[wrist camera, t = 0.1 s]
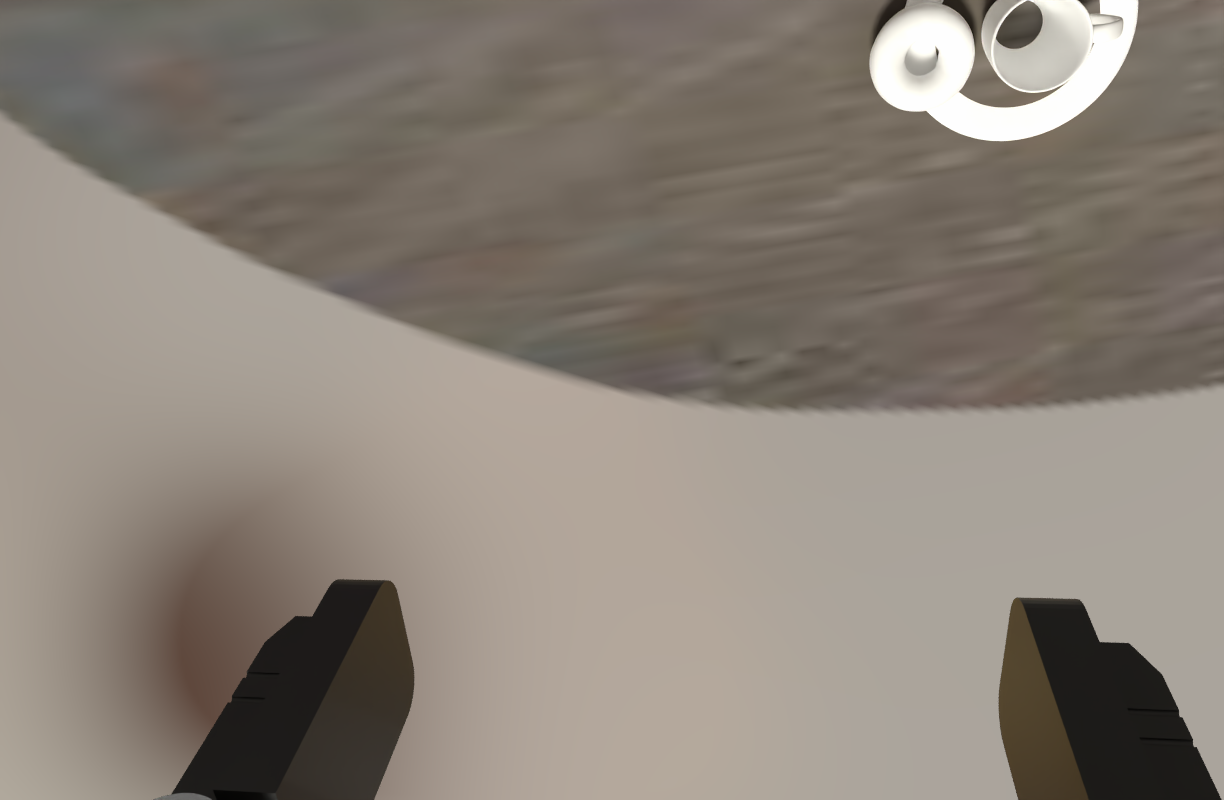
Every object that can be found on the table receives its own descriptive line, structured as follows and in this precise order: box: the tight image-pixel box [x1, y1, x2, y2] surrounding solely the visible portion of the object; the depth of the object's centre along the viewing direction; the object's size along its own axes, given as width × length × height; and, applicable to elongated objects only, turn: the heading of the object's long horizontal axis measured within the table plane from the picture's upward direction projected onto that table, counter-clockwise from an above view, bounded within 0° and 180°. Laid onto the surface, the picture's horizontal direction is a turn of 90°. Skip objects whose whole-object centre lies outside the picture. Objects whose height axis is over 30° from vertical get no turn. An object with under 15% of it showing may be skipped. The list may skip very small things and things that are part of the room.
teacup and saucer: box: [870, 0, 1138, 141], centre depth 35 cm, size 9×8×4 cm
